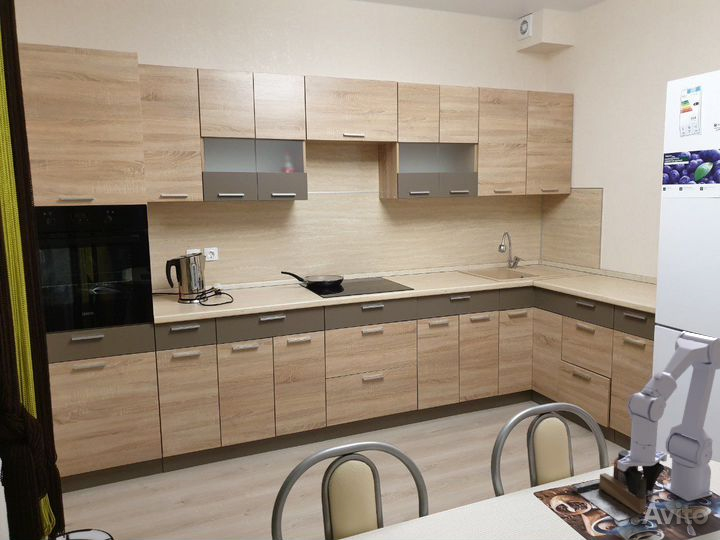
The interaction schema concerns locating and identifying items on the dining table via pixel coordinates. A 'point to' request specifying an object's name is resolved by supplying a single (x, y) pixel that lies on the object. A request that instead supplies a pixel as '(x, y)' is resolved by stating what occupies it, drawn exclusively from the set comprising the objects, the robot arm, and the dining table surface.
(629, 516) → the vice frame
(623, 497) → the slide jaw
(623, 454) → the supplement bottle
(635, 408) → the robot arm
